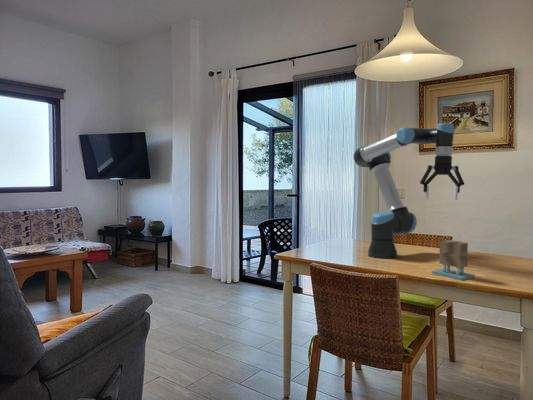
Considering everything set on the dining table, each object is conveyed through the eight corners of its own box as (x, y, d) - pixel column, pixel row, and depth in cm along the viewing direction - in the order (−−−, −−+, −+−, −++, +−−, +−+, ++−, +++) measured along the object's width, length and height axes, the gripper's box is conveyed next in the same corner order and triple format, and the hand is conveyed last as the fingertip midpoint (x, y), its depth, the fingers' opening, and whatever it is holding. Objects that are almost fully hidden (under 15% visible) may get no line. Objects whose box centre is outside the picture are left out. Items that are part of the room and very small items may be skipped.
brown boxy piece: (439, 263, 174) (439, 240, 173) (446, 262, 176) (446, 239, 176) (460, 267, 165) (460, 243, 165) (467, 266, 167) (467, 242, 167)
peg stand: (432, 273, 175) (432, 263, 174) (445, 270, 179) (445, 260, 179) (461, 280, 163) (461, 269, 162) (474, 277, 167) (475, 266, 167)
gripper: (419, 155, 190) (417, 199, 193) (473, 156, 189) (470, 200, 191) (414, 155, 198) (412, 197, 200) (467, 156, 196) (464, 199, 198)
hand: (440, 199), depth 195 cm, fingers open, 13 cm apart
